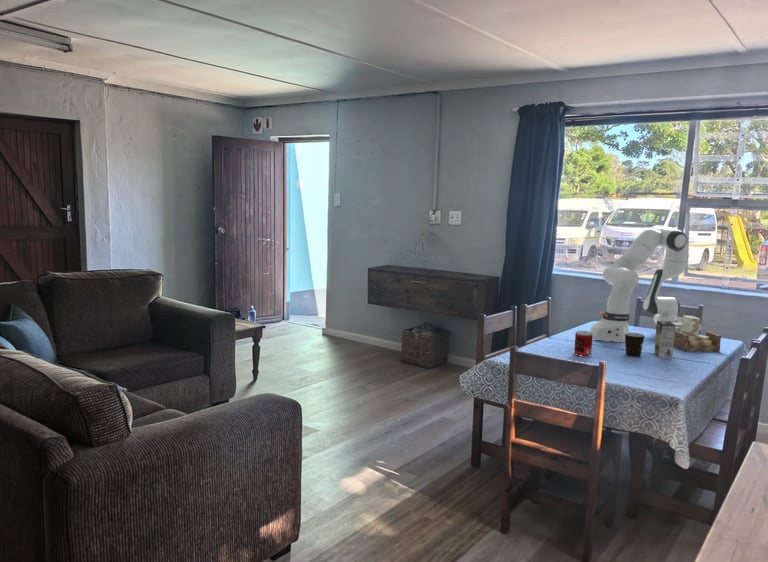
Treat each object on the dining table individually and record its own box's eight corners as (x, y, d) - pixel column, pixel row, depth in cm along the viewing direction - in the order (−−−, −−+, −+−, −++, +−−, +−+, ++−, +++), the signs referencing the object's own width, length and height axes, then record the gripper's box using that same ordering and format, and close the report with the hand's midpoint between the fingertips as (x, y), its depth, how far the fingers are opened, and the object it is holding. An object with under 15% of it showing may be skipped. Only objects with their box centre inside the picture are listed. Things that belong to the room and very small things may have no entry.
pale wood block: (688, 347, 292) (691, 318, 290) (680, 343, 300) (682, 315, 298) (697, 347, 292) (699, 318, 290) (688, 343, 300) (691, 315, 298)
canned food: (591, 354, 275) (592, 331, 274) (591, 358, 267) (592, 334, 266) (574, 352, 277) (575, 330, 276) (574, 356, 270) (575, 333, 269)
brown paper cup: (634, 358, 268) (636, 337, 267) (619, 354, 276) (620, 333, 275) (651, 355, 274) (652, 335, 272) (636, 351, 281) (637, 331, 280)
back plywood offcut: (686, 349, 288) (687, 336, 287) (684, 348, 290) (685, 335, 289) (708, 349, 288) (709, 337, 287) (705, 348, 290) (707, 336, 289)
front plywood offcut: (689, 350, 285) (689, 341, 285) (686, 349, 287) (687, 340, 287) (711, 351, 286) (711, 341, 285) (708, 350, 288) (709, 340, 287)
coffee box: (653, 353, 279) (656, 320, 277) (667, 354, 278) (670, 321, 276) (658, 357, 270) (661, 324, 268) (673, 358, 269) (676, 325, 267)
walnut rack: (684, 351, 284) (685, 335, 283) (673, 346, 294) (674, 330, 293) (719, 351, 284) (721, 336, 283) (707, 346, 294) (709, 331, 293)
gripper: (655, 318, 311) (668, 323, 297) (692, 318, 311) (707, 323, 297) (654, 329, 311) (667, 335, 298) (691, 330, 312) (706, 335, 298)
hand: (687, 329), depth 297 cm, fingers open, 8 cm apart
